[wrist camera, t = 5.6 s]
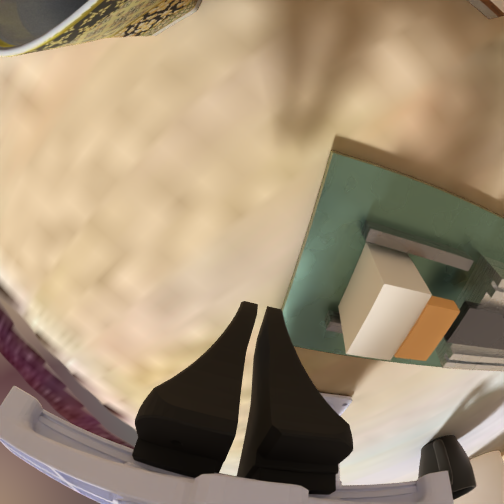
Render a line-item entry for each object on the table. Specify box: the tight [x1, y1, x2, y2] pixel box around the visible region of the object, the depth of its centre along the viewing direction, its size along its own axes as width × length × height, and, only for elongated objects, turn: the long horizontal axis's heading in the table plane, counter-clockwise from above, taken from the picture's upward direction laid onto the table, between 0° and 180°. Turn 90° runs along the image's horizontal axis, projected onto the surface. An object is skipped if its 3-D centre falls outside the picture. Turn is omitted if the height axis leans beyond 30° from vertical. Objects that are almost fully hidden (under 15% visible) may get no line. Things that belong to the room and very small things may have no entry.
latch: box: [338, 242, 460, 361], centre depth 17 cm, size 5×5×5 cm
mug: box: [418, 435, 476, 500], centre depth 27 cm, size 8×12×10 cm
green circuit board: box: [281, 150, 504, 371], centre depth 18 cm, size 14×28×4 cm, turn 78°
